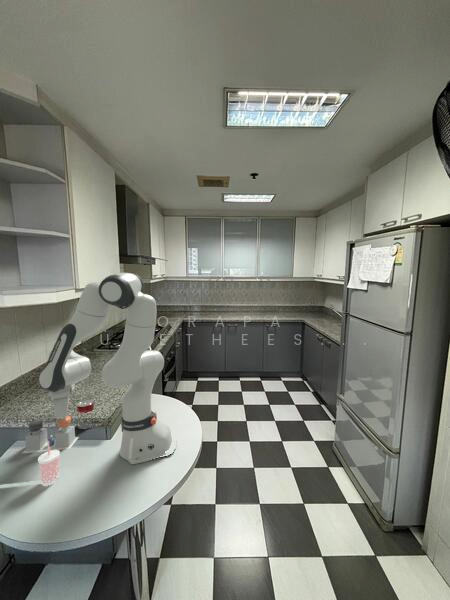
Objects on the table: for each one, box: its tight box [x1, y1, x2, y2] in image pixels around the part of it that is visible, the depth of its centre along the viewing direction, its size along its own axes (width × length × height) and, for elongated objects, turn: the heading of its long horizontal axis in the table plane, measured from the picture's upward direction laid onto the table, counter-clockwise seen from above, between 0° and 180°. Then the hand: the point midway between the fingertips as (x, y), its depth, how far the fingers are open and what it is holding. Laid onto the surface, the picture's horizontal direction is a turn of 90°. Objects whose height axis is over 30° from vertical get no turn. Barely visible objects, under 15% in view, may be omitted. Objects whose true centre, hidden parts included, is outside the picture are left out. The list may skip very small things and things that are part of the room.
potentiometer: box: [47, 434, 55, 447], centre depth 102 cm, size 2×2×4 cm
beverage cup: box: [37, 441, 61, 487], centre depth 84 cm, size 6×6×14 cm
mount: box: [20, 425, 80, 455], centre depth 102 cm, size 18×8×7 cm, turn 98°
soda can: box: [76, 399, 95, 414], centre depth 116 cm, size 7×7×12 cm
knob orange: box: [57, 415, 72, 432], centre depth 103 cm, size 5×5×9 cm
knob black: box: [28, 419, 44, 435], centre depth 101 cm, size 5×5×9 cm
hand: (63, 418), depth 103 cm, fingers closed
